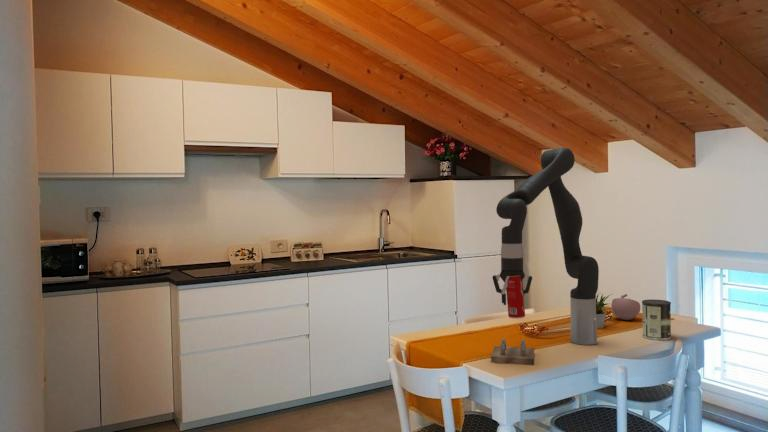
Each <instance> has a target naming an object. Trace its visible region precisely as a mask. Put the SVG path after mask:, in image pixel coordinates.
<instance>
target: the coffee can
mask: <svg viewBox="0 0 768 432" xmlns="http://www.w3.org/2000/svg"><path fill="white" fill-rule="evenodd" d="M641 304H642V305H641V310H642V314H641V315H642V321H641V322H642V337H643V338H644V339H648V340H652V341H669V340H671V339H672V329H671V328H672V325H671V322H672V319H671V317H672V313H671V312H672V311H671V309H672V308H671V304H672V302H671V301H669V300H666V299H663V300H662V299H643V300H641Z"/></svg>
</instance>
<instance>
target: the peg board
mask: <svg viewBox="0 0 768 432" xmlns="http://www.w3.org/2000/svg"><path fill="white" fill-rule="evenodd" d="M526 342H527V340H526V339H521V340H520V345H519V346H520V347H519V346H518V347H517V346H515V347H513V346H507V339H506V338H502V339H501V343H499V346H496V345H495V346H494V347H493V350H492V352H491V355H490V358H491V359H490V363H491V362H497V363H496V364H509V363H514V365H530V366H534V365H535V364H534V363H535V347H526V346H527V345H526V344H527V343H526Z"/></svg>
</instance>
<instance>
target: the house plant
mask: <svg viewBox="0 0 768 432" xmlns="http://www.w3.org/2000/svg"><path fill="white" fill-rule="evenodd" d="M600 294H601V292H597V293H596V319H597V329H604V326H605V321H606V314H607V313H606V312H605V310H606V308H608V307H609V305H608V303H604V302H605V301H606V300H607V299H608V298H609V297H610V296H611V295H613V293H610V294H609V295H605V296H604V293H602V294H601V296H600V299H598V298H599V295H600ZM598 300H599V301H598Z"/></svg>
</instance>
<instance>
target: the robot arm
mask: <svg viewBox="0 0 768 432" xmlns="http://www.w3.org/2000/svg"><path fill="white" fill-rule="evenodd" d="M575 161H576V160H575V155H574V153H573V151H572V150H571V149H570V148H569V147H558V148H553V149H548V150H545V151H543V152H542V154H541V155H540V166H541V170H540V171H538V172H536V173H534V174H533V175H531V176H530V177H528V178H527V179H526V180H525V181H523V182H522V184H521V185H519V186H518V187H517V188H516V189H515V190H514V191H512V192H510V193H509V194H506V196H503V198H501V199H500V200H499V201H498V203H497V205H496V207H495V208H496V210H495V211H496V214H497V216H498V217H499V218H501V219H504V220H510V223H509V225H506V226H503V227H502V228H501V246H500V257H501V258H500V269H501V270H500V272H499V274H494V275H492V281H493V285H494V287H495V291H496V293H498V294H501V304H503V306H506V305H507V291H506V288H507V285H508V284H507V283H506V282H507V281H508V279H509V276H519V275H520V277H521V279H522V280H523V281H524V279H525V282H527V283H526V286H525V289H523V291H522V295H524V296H525V295H526V294H529V292H530V289H531V288H530V287H531V285H532V280H533V276H532V275H527V274H525V272H524V247H523V229H524V226H525V222H526V217H527V214H528V205H531V204H532V203H533V202H534V201H535V200H536V199H537V198H538V196H540V195H541V193H543V191H545V190H546V189H547V188H548V190H549V195H550V197H551V202H552V205H553V211H554V216H555V220H556V223H557V226H558V230H559V235H560V240H561V244H562V251H563V258H564V265H565V270H566V271H565V272H566V273H567V274H568V277H571V278H572V279H576V280H577V286H576V287H574V288H572V289H571V290H570V293H569V294H570V295H569V297H570V302H569V303H570V342H571V343H573V344H576V345H580V346H581V345H582V346H583V345H584V346H586V345H587V346H590V345H598V328H597V319H596V298H597V293H598V291H599V277H600V276H599V275H600V274H599V273H600V271H599V270H600V269H599V264H598V261H597V260H596V259H595V258H594V257H592V256H587V255H583V254H582V250H581V245H580V235H581V232H582V227H583V217H582V216H583V215H582V212H581V211H582V210H581V207H580V205H579V202H578V200H577V199H576V198H575V197H574V195H573V194H572V193H571V192H570V191H569V190H568V188H567V187H566V185H565V184H564V182H563V180H562V176H563V175H566V173H568V172H570V171H571V169H573V167H574V166H575ZM500 279H501V280H502V282H504V283H503V286H502V289H501V287H500V283H499V281H500Z"/></svg>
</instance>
